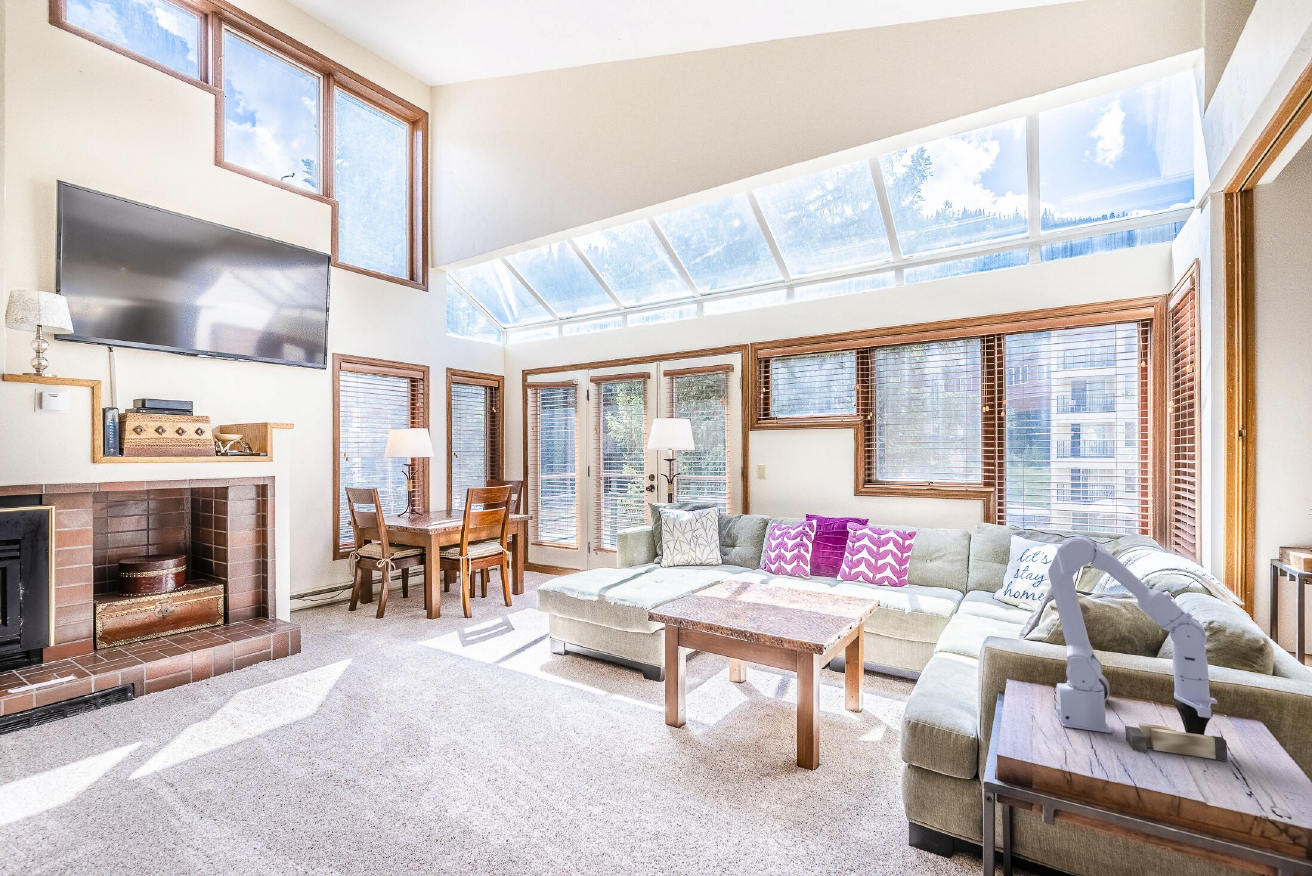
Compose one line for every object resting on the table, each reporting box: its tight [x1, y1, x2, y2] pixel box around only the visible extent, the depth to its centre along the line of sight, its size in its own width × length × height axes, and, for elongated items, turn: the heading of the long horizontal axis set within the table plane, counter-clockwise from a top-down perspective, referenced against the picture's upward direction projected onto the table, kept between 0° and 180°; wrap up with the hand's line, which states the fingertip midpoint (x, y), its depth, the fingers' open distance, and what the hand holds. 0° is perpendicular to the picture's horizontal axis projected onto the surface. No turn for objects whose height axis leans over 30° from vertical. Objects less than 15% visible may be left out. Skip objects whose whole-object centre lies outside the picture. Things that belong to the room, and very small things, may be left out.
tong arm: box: [1151, 728, 1228, 762], centre depth 128 cm, size 12×2×4 cm, turn 65°
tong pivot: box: [1124, 722, 1177, 753], centre depth 132 cm, size 8×6×4 cm, turn 65°
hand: (1194, 740), depth 132 cm, fingers closed
